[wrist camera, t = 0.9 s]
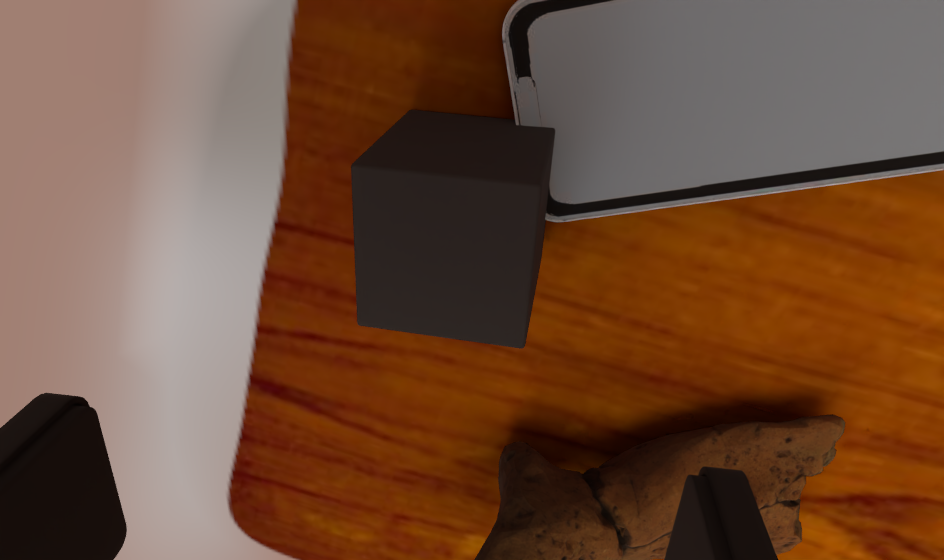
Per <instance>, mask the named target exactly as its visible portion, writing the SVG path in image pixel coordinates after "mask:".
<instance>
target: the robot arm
mask: <svg viewBox="0 0 944 560" xmlns="http://www.w3.org/2000/svg"><path fill="white" fill-rule="evenodd" d="M126 531H127V529H126V522H125V519H124V515H123V511H122V508H121V503H120V500H119V496H118V492H117V488H116V484H115V480H114V477H113V473H112V469H111V465H110V461H109V457H108V454H107V450H106V446H105V442H104V438H103V435H102V431H101V427H100V423H99V419H98V415H97V413H96V411H95V409H93V408H92V407H90V406H89V404H88V402H87V401H86V400H85V399H84V398H83V397H78V396H69V395H61V394H52V393H44V394H41V395H39V396H37V397H36V398H34V399H33V400H32V401H31V402H30V403H29V404H28V405H26V406H25V407H24V408H23V409H22V410H21V411H20V412H18V413H17V414H16V415H15V416H14V417H13V418H12V419H10V420H9V421H8V422H7V423H6V424H5V425H3V426H2V427H1V428H0V560H113V559H114V558H115V557H116V555H117V554H118V552H119V551H120V549H121V548H122V546H123V543H124V541H125V537H126ZM664 560H778V558H777V556H776V553H775V550H774V548H773V545H772V542H771V540H770V537H769V534H768V532H767V529H766V526H765V524H764V521H763V518H762V516H761V513H760V511H759V508H758V505H757V503H756V500H755V497H754V495H753V492H752V489H751V487H750V484H749V481H748V479H747V477H746V475H745V473H744V472H743V471H742V470H733V469H724V468H715V467H706V466H704V467H702V468H701V469H700V472H699V474H698V475H688V476H687V478H686V481H685V484H684V488H683V492H682V496H681V499H680V503H679V507H678V511H677V514H676V518H675V522H674V525H673V529H672V533H671V537H670V540H669V544H668V548H667V552H666V555H665V559H664Z"/></svg>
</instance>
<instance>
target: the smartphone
mask: <svg viewBox="0 0 944 560" xmlns="http://www.w3.org/2000/svg"><path fill="white" fill-rule="evenodd" d="M509 15H510V16H509ZM502 40H503V47H504V53H505V59H506V65H507V72H508V78H509V84H510V90H511V97H512V103H513V109H514V115H515V122H516V125H522V126H535V127H549V128H554V129H555V139H554V147H553V156H552V165H551V174H550V182H549V191H548V200H547V209H546V217H545V220H548V221H552V222H567V221H574V220H581V219H589V218H596V217H603V216H611V215H618V214H625V213H633V212H640V211H647V210H655V209H662V208H669V207H677V206H684V205H691V204H699V203H706V202H713V201H721V200H728V199H735V198H743V197H750V196H757V195H765V194H772V193H779V192H787V191H794V190H801V189H809V188H816V187H823V186H831V185H838V184H845V183H853V182H860V181H867V180H875V179H882V178H889V177H897V176H904V175H911V174H919V173H926V172H933V171H941V170H944V0H518V1H517V2H515V4H514V5H513V6H512V7H511V8H510V10H509V11H508V13H507V15H506V17H505V20H504V23H503V27H502Z"/></svg>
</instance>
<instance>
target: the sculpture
mask: <svg viewBox="0 0 944 560" xmlns="http://www.w3.org/2000/svg"><path fill="white" fill-rule="evenodd" d="M844 428H845V422H844V420H843V419H842V418H841V417H838V416H836V415H833V414H832V415H822V416H808V417H801V418H798V419H795V420H792V421H785V422H776V423H775V422H757V421H753V422H739V423H731V424H719V425H716V426H713V427H711V428H702V429H697V430H693V431H688V432H682V433H676V434H671V435H666V436H663V437H660V438H657V439H654V440H651V441H648V442H645V443H642V444H639V445H637V446H634V447H632V448H630V449H628V450H626V451H625V452H623V453H621V454H619V455H617V456H616V457H614V458H612V459H610V460H609V461H607V462H605V463H604V464H602V465H601V466H599V468H591V469H589V470H587V471H586V472H585V473H584V474H581V473H580V472H577V471H570V470H565V469H561V468H559V467H556V466H554V465H553V464H551V463H550V462H548V461H547V460H546V459H545V458H544V457H543V456H542V455H541V454H540V453H539V452H538V451H536V450H535V449H533V448H532V447H531V446H529V445H528V444H527V443H524V442H521V441H519V442H515V443H512V444H509V445H507V446H505V447H504V449H503V452H502V454H501V456H500V461H499V477H498V480H499V489H500V496H501V503H500V508H499V513H498V517H497V520H496V523H495V525H494V527H493V529H492V531H491V533H490V535H489V536H488V538H487V539H486V541H485V543H484V544H483V546H482V548H481V550H480V551H479V553H478V555H477V556H476V558H475V560H651V559H665V555H666V552H667V548H668V544H669V540H670V537H671V533H672V529H673V525H674V522H675V518H676V514H677V511H678V507H679V503H680V499H681V496H682V492H683V488H684V484H685V481H686V478H687V476H688V475H698V474H699V472H700V469H701V468H702V467H704V466H706V467H715V468H724V469H733V470H742V471H743V472H744V473H745V475H746V477H747V479H748V481H749V484H750V487H751V489H752V492H753V495H754V497H755V500H756V503H757V505H758V508H759V511H760V513H761V516H762V518H763V521H764V524H765V526H766V529H767V532H768V534H769V537H770V540H771V542H772V545H773V548H774V550H775V553H776V555H777V554H780V553H784V552H787V551H790V550H791V549H792V548H793V547H794V546H795V545H797V544H798V543H800V542H802V527H801V523H800V522H799V509H800V499H799V498H800V495H801V491H802V489H803V487H804V485H805V484H806V476H814V475H817V474H819V473H821V471H823V467H824V466H827V465H828V464H829V463H830V462H831V461H832V460H833V459H834V457H835V454H836V449H835V448H834V447H835V443H836V441H837V440H838V439H839V438H840V437H841V436H842V434H843V433H844Z"/></svg>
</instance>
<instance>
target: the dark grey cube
mask: <svg viewBox="0 0 944 560" xmlns="http://www.w3.org/2000/svg"><path fill="white" fill-rule="evenodd" d="M554 139H555V129H554V128H549V127H535V126H522V125H516V122H515V120H512V119H502V118H492V117H481V116H471V115H461V114H450V113H440V112H430V111H419V110H409V111H408V112H407V113H406V114H405V115H404V116H403V117H402V118H401V119H400V120H399V121H398V122H396V123H395V124H394V125H393V126H392V127H391V128H390V129H389V130H388V131H387V132H386V133H385V134H384V135H383V136H382V137H380V138H379V139H378V140H377V141H376V142H375V143H374V144H373V145H372V146H371V147H370V148H369V149H368V150H367V151H366V152H364V153H363V154H362V155H361V156H360V157H359V158H358V159H357V160H356V161H355V162H354V163H353V164H352V166H351V173H352V198H353V224H354V249H355V274H356V299H357V322H358V325H360V326H367V327H374V328H381V329H388V330H395V331H402V332H409V333H416V334H423V335H430V336H437V337H444V338H451V339H459V340H466V341H473V342H480V343H487V344H494V345H501V346H508V347H515V348H524V346H525V343H526V338H527V332H528V327H529V322H530V316H531V311H532V305H533V300H534V295H535V289H536V284H537V278H538V273H539V268H540V262H541V257H542V248H543V239H544V231H545V222H546V220H545V217H546V209H547V200H548V191H549V182H550V174H551V165H552V156H553V147H554Z"/></svg>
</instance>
